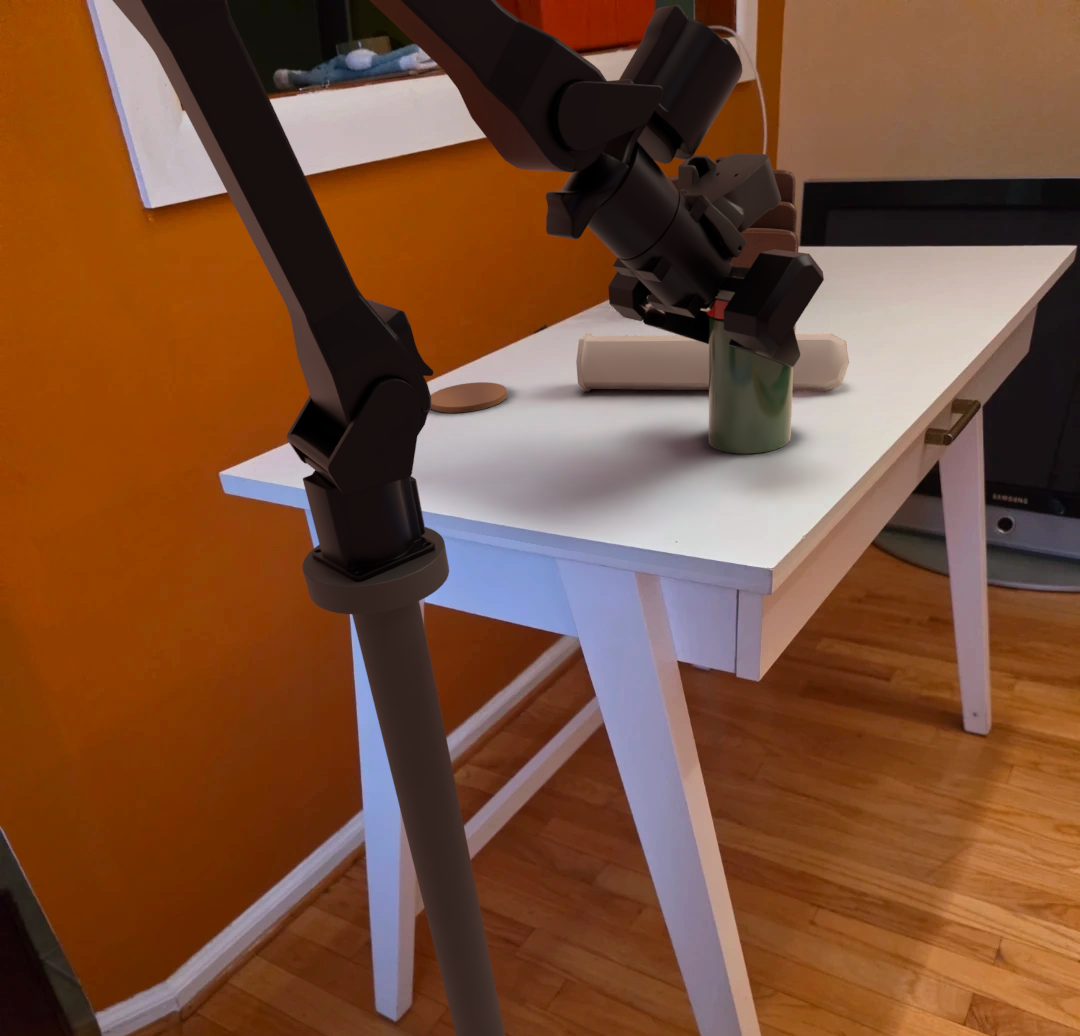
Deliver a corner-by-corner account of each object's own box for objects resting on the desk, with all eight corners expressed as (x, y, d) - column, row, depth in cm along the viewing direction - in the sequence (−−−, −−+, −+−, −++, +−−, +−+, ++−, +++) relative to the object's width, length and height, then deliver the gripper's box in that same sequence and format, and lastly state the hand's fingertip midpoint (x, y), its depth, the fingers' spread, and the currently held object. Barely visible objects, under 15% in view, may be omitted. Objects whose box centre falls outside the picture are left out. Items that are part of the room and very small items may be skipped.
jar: (755, 459, 75) (759, 305, 68) (692, 444, 79) (690, 297, 72) (807, 435, 78) (816, 285, 71) (743, 421, 82) (746, 279, 76)
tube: (854, 333, 87) (593, 335, 95) (851, 328, 82) (576, 331, 90) (847, 394, 88) (591, 392, 97) (843, 393, 84) (575, 390, 92)
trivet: (459, 418, 91) (458, 411, 91) (413, 404, 96) (412, 398, 96) (523, 395, 95) (522, 389, 95) (475, 383, 100) (474, 378, 100)
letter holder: (637, 298, 126) (631, 177, 118) (791, 286, 122) (796, 160, 114) (631, 316, 118) (626, 188, 110) (796, 304, 114) (802, 170, 106)
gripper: (811, 110, 57) (919, 274, 67) (632, 115, 70) (744, 251, 81) (706, 277, 58) (828, 412, 69) (551, 251, 72) (672, 366, 82)
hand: (765, 353), depth 75 cm, fingers closed on jar, 6 cm apart
